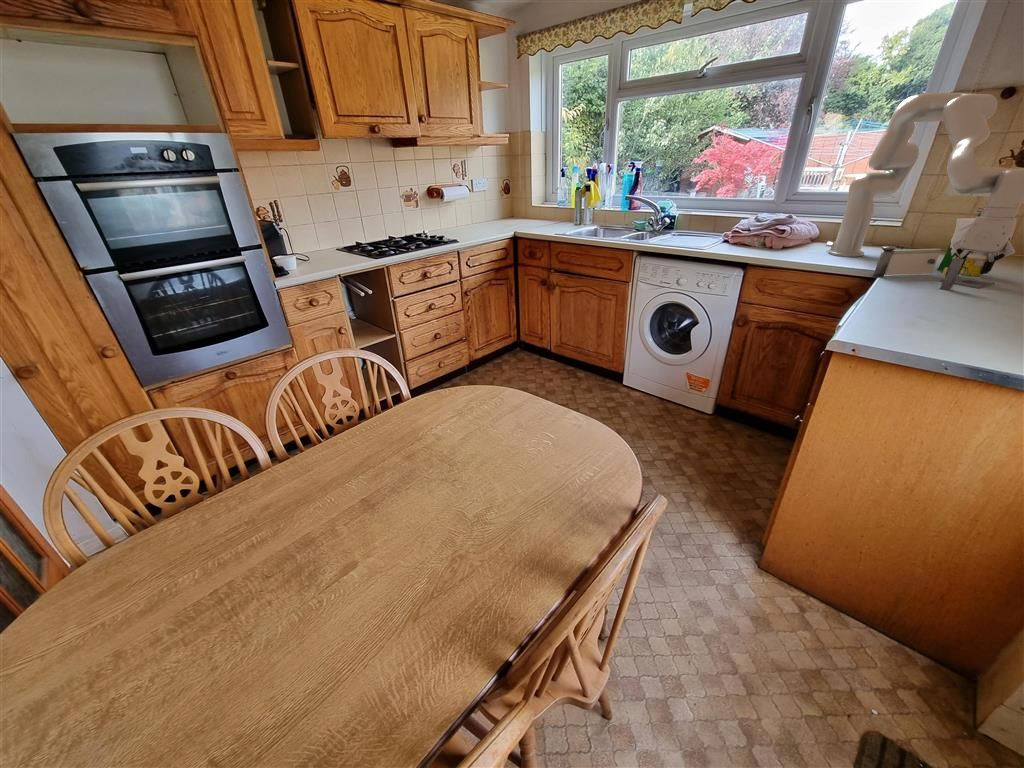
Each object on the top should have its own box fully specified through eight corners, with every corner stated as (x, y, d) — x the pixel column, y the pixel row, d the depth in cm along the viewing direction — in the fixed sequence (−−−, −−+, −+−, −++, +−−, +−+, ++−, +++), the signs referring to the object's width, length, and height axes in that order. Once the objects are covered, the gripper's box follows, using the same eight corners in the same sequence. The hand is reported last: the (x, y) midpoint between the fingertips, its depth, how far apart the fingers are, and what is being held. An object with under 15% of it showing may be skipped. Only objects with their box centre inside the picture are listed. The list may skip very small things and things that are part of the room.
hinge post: (869, 275, 155) (879, 246, 150) (875, 274, 156) (886, 245, 151) (881, 278, 152) (891, 248, 147) (887, 276, 153) (898, 247, 148)
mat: (940, 281, 146) (940, 280, 146) (956, 277, 149) (956, 276, 149) (978, 288, 138) (978, 287, 138) (994, 283, 141) (995, 282, 141)
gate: (887, 275, 152) (897, 251, 148) (882, 274, 154) (891, 250, 150) (934, 274, 152) (944, 250, 148) (928, 272, 154) (938, 248, 150)
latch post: (935, 288, 139) (948, 258, 135) (940, 287, 140) (953, 257, 135) (945, 290, 137) (959, 260, 132) (950, 289, 138) (964, 259, 133)
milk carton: (951, 275, 152) (978, 215, 142) (931, 269, 160) (956, 211, 150) (978, 275, 151) (1007, 214, 142) (957, 269, 159) (983, 211, 149)
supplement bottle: (983, 279, 140) (998, 249, 135) (961, 278, 142) (975, 248, 137) (975, 275, 144) (989, 246, 139) (955, 274, 146) (968, 245, 141)
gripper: (957, 211, 139) (933, 268, 148) (1031, 216, 125) (1000, 278, 134) (970, 209, 142) (946, 265, 150) (1043, 214, 128) (1012, 275, 136)
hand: (971, 271), depth 142 cm, fingers closed on supplement bottle, 5 cm apart
